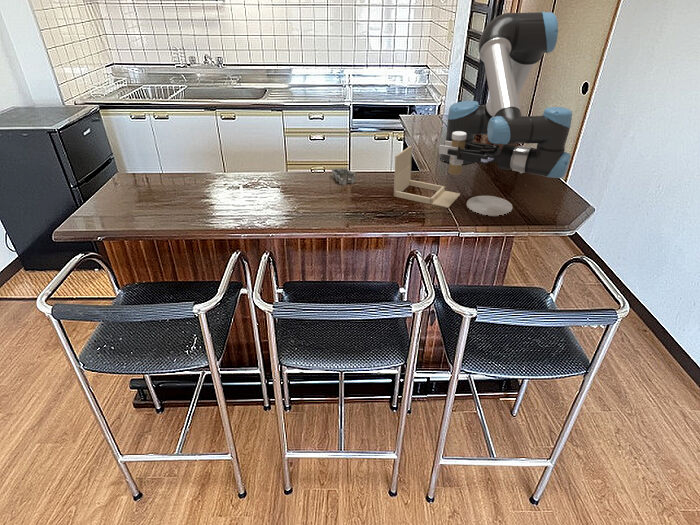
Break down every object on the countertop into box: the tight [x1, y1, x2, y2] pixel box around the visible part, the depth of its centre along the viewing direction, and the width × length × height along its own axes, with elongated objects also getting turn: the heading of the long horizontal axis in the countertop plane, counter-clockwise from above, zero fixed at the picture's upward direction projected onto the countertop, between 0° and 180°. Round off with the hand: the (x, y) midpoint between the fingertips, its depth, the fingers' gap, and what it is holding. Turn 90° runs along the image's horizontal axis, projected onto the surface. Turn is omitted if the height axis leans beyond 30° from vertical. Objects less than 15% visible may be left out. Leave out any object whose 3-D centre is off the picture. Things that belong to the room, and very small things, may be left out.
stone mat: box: [466, 195, 513, 217], centre depth 149 cm, size 15×15×1 cm
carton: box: [393, 145, 461, 209], centre depth 154 cm, size 21×13×15 cm, turn 59°
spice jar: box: [448, 131, 467, 176], centre depth 143 cm, size 5×5×13 cm
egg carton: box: [331, 167, 357, 186], centre depth 171 cm, size 11×8×4 cm
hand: (442, 147), depth 145 cm, fingers closed on spice jar, 4 cm apart
